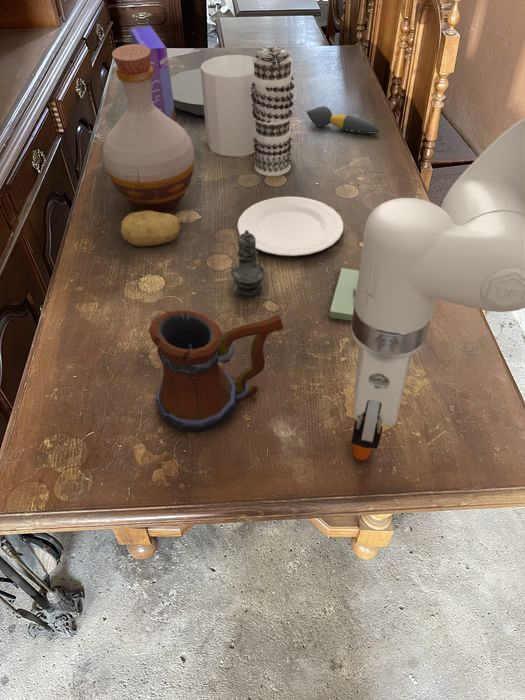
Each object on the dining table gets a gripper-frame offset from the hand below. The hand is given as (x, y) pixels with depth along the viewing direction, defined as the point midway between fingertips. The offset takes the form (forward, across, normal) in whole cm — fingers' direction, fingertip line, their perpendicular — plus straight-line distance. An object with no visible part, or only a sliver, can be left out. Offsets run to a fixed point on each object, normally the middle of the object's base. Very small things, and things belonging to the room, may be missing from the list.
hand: (367, 428), depth 67 cm
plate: (+6, +48, +21) cm, 53 cm away
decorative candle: (+6, +73, +31) cm, 80 cm away
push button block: (+5, +31, +2) cm, 32 cm away
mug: (+6, +4, +21) cm, 22 cm away
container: (+6, +83, +43) cm, 94 cm away
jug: (+6, +52, +51) cm, 73 cm away
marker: (+5, 0, 0) cm, 5 cm away
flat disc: (+6, +107, +57) cm, 121 cm away
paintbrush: (+6, +97, +19) cm, 99 cm away
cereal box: (+6, +79, +61) cm, 100 cm away
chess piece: (+6, +29, +24) cm, 38 cm away
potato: (+6, +38, +46) cm, 60 cm away
